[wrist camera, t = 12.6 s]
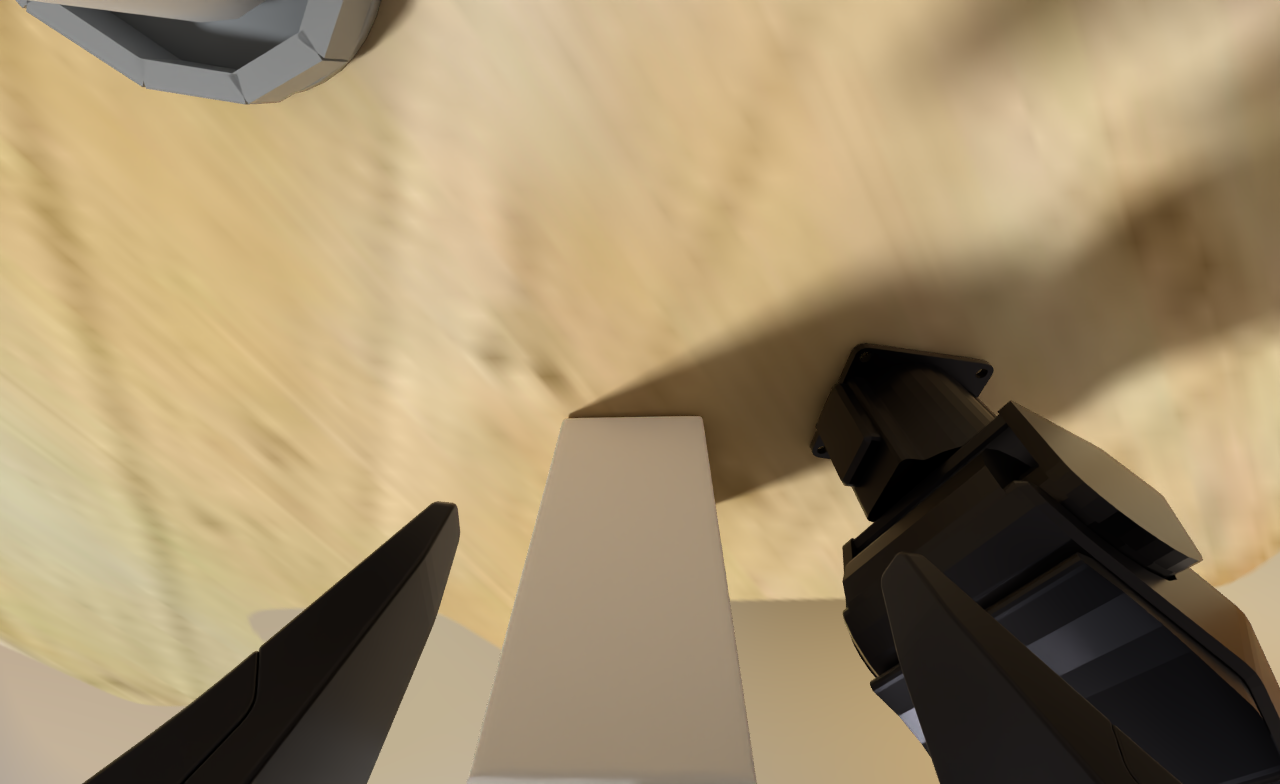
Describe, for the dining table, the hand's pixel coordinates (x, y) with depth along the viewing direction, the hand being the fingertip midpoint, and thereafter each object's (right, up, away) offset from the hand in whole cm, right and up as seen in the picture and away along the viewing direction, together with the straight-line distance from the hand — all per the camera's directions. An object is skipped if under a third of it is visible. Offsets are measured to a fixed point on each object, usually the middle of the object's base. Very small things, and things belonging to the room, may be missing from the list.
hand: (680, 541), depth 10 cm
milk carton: (-1, -1, +17) cm, 17 cm away
